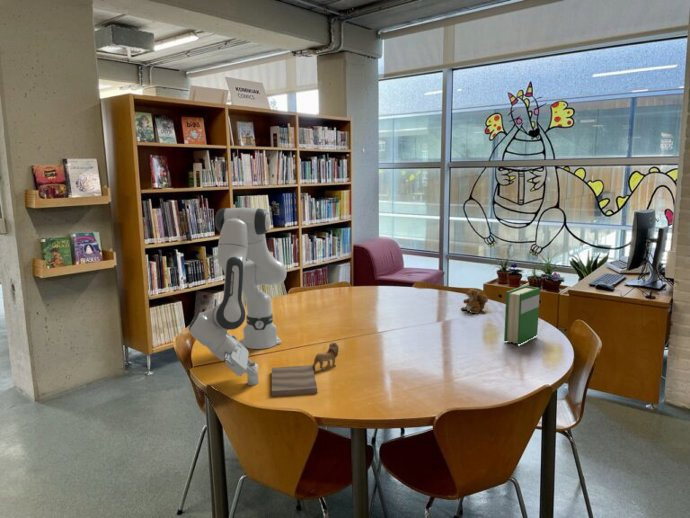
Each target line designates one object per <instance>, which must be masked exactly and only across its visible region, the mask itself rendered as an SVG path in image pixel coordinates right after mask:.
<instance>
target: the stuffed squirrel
mask: <svg viewBox="0 0 690 518" xmlns="http://www.w3.org/2000/svg"><path fill="white" fill-rule="evenodd" d="M464 296H465V297H468V298H466V299H465V298H464V299H463V301H462V302H463V304H465V306H463V307H461V308H460V311H461V310H467V311H466V312H468V311H471V312H470V314H471V313H476V314H478V313H477V312H479V313H480V312H481V311H483V310H484V308H485V305H486V303H487V302H489V297H488V296H487V295H486V294H485V293H484V294H483V293H480V291H479V290H477V289H474V288H470V289H469V291H468V292H467V293H466V294H465V295H464ZM480 310H481V311H480Z"/></svg>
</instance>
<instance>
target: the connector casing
mask: <svg viewBox="0 0 690 518" xmlns="http://www.w3.org/2000/svg"><path fill="white" fill-rule="evenodd" d="M247 366H248V367H249V368H250V369H253V370H254V371H255V375H254V376H251V375H249V374H247V373H246V375H247V377H246V378H247V385H249V386H256V385H258V384H259V364H258V363H256V362H255V361H251V362H250V363H249V364H248V365H247Z"/></svg>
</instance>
